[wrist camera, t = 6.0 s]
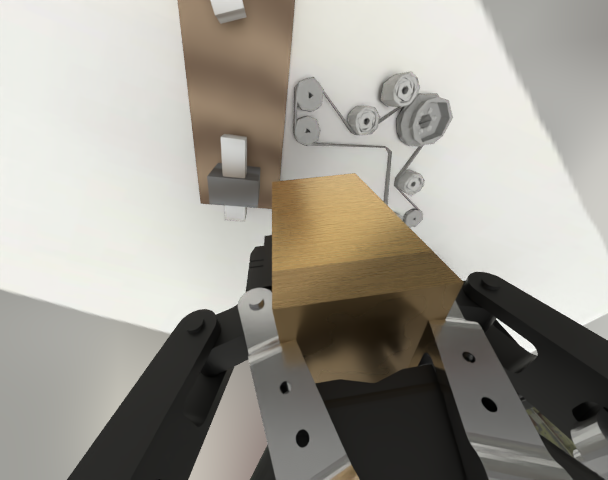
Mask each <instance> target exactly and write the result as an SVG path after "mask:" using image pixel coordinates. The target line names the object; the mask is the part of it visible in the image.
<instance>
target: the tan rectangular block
mask: <svg viewBox="0 0 608 480" xmlns="http://www.w3.org/2000/svg"><path fill="white" fill-rule="evenodd" d="M463 283H464V282H463V281H462V280H461V279H460V278H459V277H458V276H457V275H456V274H455V273H454V272H453V271H452V270H451V269H450V268H449V267H448V266H447V265H446V264H445V263H444V262H443V261H442V260H441V259H440V258H439V257H438V256H437V255H436V254H435V253H434V252H433V251H432V250H431V249H430V248H429V247H428V246H427V245H426V244H425V243H424V242H423V241H422V240H421V239H420V238H419V237H418V236H417V235H416V234H415V233H414V232H413V231H412V230H411V229H410V228H409V227H408V226H407V225H406V224H405V223H404V222H403V221H402V220H401V219H400V218H399V217H398V216H397V215H396V214H395V213H394V212H393V211H392V210H391V209H390V208H389V207H388V206H387V205H386V204H385V203H384V202H383V201H382V200H381V199H380V198H379V197H378V196H377V195H376V194H375V193H374V192H373V191H372V190H371V189H370V188H369V187H368V186H367V185H366V184H365V183H364V182H363V181H362V180H361V179H360V178H359V177H358V176H357V175H356V174H355V173H354V174H344V175H334V176H325V177H315V178H306V179H296V180H286V181H277V182H272V311H273V316H274V320H275V324H276V328H277V333H278V337H279V341H280V344H281V343H285V342H289V341H294V340H296V342H297V344H298V346H299V348H300V351H301V353H302V355H303V357H304V360H305V362H306V364H307V366H308V369H309V371H310V373H311V375H312V378H313V380H314V382H315V383H320V382H326V381H332V380H338V379H343V380H351V381H359V382H368V383H376V382H379V381H380V380H382V379H384V378H386V377H388V376H390V375H392V374H394V373H396V372H397V371H399V370H401V369H405V368H408V366H409V364H410V362H411V359H412V357H413V355H414V352H415V350H416V348H417V346H418V343H419V341H420V339H421V336H422V334H423V332H424V329H425V327H426V325H427V323H428V320H436V319H446V317H447V315H448V313H449V311H450V309H451V307H452V305H453V303H454V301H455V299H456V297H457V295H458V293H459V291H460V289H461V287H462V285H463Z"/></svg>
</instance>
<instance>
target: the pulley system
mask: <svg viewBox="0 0 608 480" xmlns="http://www.w3.org/2000/svg"><path fill="white" fill-rule="evenodd" d="M419 89H420V86H419V82H418V78H417V77H416V76H415V74H414V73H413V72H406V73H400V74H395V75H394V76H393V77H391V78H389V79H388V80H387V81H386V82H385V83H384V84H383V89H382V95H381V101H382V102H383V103H384V104H385V105H387V106H391V107H397V108H396V109H394V110H393V111H391V112H390V113H388V114H387V115H385V116H384V117H382V118H381V119H379V118H380V116H379V114H378V112H377V110H376V109H375V107H371V106H357V107H355V108H354V109H353V110H352V111H351V112H350V114H349V115H348V123H347V122H346V121H345V119H344V118H343V116H342V115H341V114H340V112H339V111H338V110H337V108H336V107H335V106H334V104H333V103H332V101H331V100H330V99H329V97H328V96H327V95H326V93H325V92H324V89H323V88H322V87H321V85H320V84H319V82H318V81H317V80H316V79H315V78H314V77H311V78H307V79H304V80H302V81H300V82H299V83H298V84H297V85H296V87H295V91H294V126H293V132H294V136H295V138H296V140H297V141H298V142H300V143H301V144H303V145H306V146H308V145H316V146H348V147H380V148H386V149H387V152H388V161H387V172H386V182H385V193H384V203H385V204H386V205H387V204H388V192H389V180H390V168H391V155H392V151H390V150H389V149H388V148H387V147H385V146H367V145H347V144H327V143H314V142H316V141H318V138H319V134H320V128H319V124H318V121H317V119H314V118H311V117H309V116H305V117H302V118H299V119H298V120H297V122H296V116H297V106H298V107H300V108H301V109H302V110H307V111H314V110H316V109H317V108H318V107H320V106H321V105H322V97H323V94H324V95H325V96H326V98H327V99H328V101H329V102H330V103H331V105H332V106H333V108H334V109H335V111H336V112H337V113H338V115H339V116H340V118H341V119H342V120H343V122H344V123H345V125H346V126H347V128H348V129H349V130H350V132H351V133H353V134H354V135H368V134H372V133H373V132H374V131H375V130H376V129H377V128H378V124H379V123H380V122H382V121H383V120H385V119H386V118H387V117H389V116H390V115H392V114H393V113H395V112H396V111H397V110H399V109H400V108H402V107H403V106H404V107H403V108H402V110H401V112H400V113H399V115H398V117H397V134H398V135H399V137H400V140H401V141H403V142H404V143H405V144H407V145H408V146H419V147H418V148H417V150H416V151H415V152H414V154H413V155H412V156H411V158H410V159H409V160H408V162H407V163H406V164H405V166H404V167H403V168H402V170H401V171H400V172H399V174H398V175H397V176H396V178H395V183H394V186H395V187H396V188H397V189H398V188H399V189H400V190H401V191H403V192H405V193H407V194H408V195H410V196H412V195H414V194H415V193H417V192H419V191H420V190H421V188H422V187H423V186H424V181H425V180H424V179H423V177H422V175H421V174H419V173H416V172H414V171H411V170H406V169H407V168H408V166H409V165H410V163H411V162H412V161H413V159H414V158H415V157H416V155H417V154H418V152H419V151H420V150H421V148H422V147H423V145H425V144H434V143H435V142H436V141H437V140H438V139H440V138H441V137H442V136H443V135H444V133H445V131H446V129H447V127H448V126H449V124H450V122H451V120H452V118H453V116H452V112H451V108H450V104H449V100H446V99H443V98H440V97H439V96H438V94H437V93H436V94H418V92H419ZM309 93H310V98H309ZM417 94H418V95H417ZM419 121H420V122H421V124H419ZM306 129H307V131H308V132H306ZM399 189H398V190H399ZM400 190H399V191H400ZM401 191H400V192H401ZM401 193H402V192H401ZM402 194H403V193H402ZM403 196H404V197H405V198H406V199H407V200H408V201H409V202H410V203H411V204H412V205H413V206H414V207H415V208H416V209H417V210H416V209H414V210H413V209H411V210H410V211H408V212H406V214H405V216H404V217H402V216H401V215H399V214H397V213H395V212H394V213H395V214H396V215H397V216H398V217H399V218H400V219H401V220H403V222H404V223H405V224H406V225H407V226H408V227H415V226H416V225H417V224H419V223H420V222H421V221H422V220H423V214H422V211H420V210H419V209H418V208H417V207H416V206H415V205H414V204H413V203H412V202H411V201H410V200H409V199H408V198H407V197H406V196H405V195H404V194H403Z"/></svg>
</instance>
